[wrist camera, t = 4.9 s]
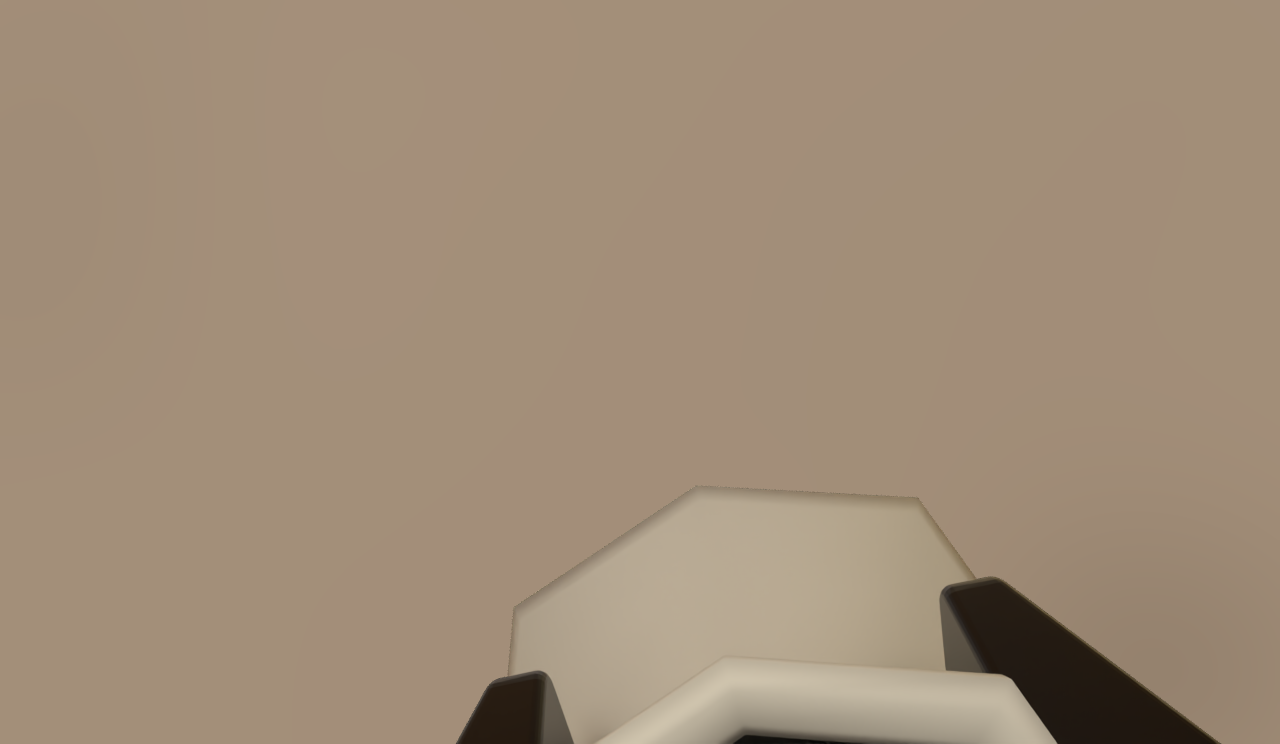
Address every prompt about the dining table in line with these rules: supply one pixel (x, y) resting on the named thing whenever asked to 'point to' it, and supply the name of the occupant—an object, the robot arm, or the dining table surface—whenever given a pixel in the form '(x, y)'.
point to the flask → (766, 629)
